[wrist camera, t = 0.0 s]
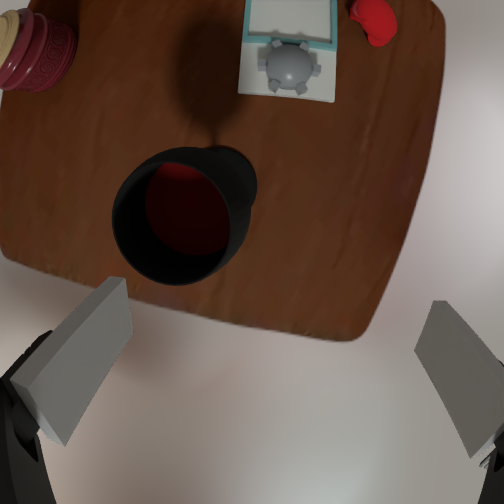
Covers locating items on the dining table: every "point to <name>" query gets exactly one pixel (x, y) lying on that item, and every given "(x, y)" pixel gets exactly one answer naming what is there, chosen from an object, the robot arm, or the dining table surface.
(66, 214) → the dining table surface
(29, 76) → the canister
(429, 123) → the dining table surface
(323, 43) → the carrier board
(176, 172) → the wine glass
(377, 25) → the cap
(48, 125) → the dining table surface
